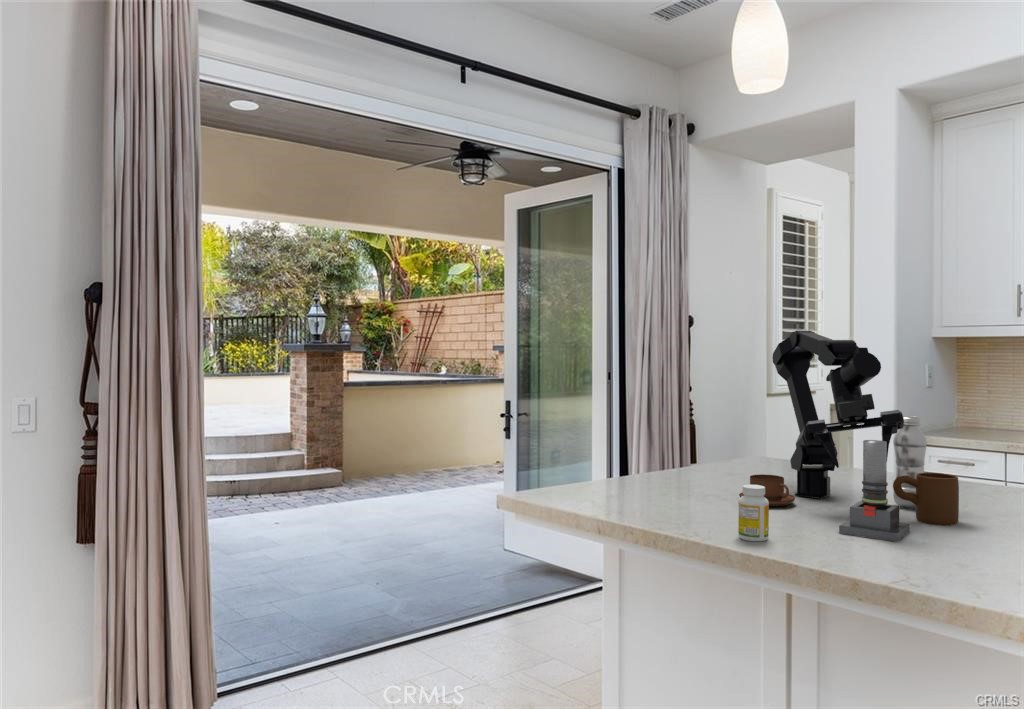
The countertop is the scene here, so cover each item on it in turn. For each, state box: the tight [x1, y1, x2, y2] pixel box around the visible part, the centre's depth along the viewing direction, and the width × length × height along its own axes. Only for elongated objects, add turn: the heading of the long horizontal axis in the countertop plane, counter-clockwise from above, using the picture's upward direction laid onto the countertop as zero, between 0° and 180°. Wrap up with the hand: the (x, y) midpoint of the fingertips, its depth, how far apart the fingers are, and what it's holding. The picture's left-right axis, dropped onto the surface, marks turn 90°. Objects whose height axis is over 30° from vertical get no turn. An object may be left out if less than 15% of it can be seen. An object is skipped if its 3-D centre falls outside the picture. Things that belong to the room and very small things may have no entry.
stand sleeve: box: [838, 500, 911, 543], centre depth 142 cm, size 10×10×6 cm
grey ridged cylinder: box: [861, 439, 889, 505], centre depth 142 cm, size 4×4×12 cm
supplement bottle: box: [737, 484, 770, 542], centre depth 138 cm, size 5×5×10 cm
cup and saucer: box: [739, 474, 796, 507], centre depth 169 cm, size 12×12×6 cm
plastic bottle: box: [892, 415, 928, 509], centre depth 164 cm, size 6×7×20 cm
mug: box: [892, 472, 960, 526], centre depth 151 cm, size 12×8×9 cm, turn 77°
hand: (861, 464), depth 155 cm, fingers open, 9 cm apart
